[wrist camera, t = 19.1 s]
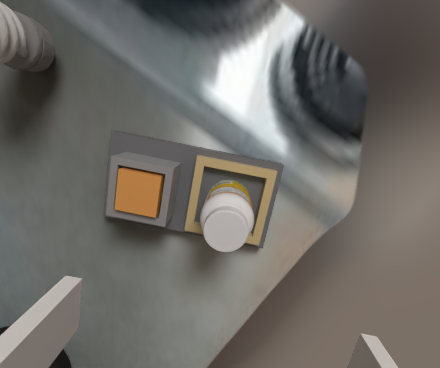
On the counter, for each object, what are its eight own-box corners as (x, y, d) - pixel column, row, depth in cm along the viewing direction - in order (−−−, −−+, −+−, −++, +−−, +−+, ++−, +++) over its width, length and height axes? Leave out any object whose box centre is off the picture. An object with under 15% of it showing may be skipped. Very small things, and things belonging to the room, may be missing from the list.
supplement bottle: (234, 228, 33) (234, 270, 23) (199, 206, 32) (183, 240, 23) (259, 194, 32) (268, 224, 22) (221, 170, 31) (215, 191, 22)
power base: (109, 212, 35) (86, 228, 30) (116, 130, 32) (93, 132, 27) (261, 242, 35) (266, 264, 29) (281, 163, 32) (290, 171, 27)
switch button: (127, 200, 32) (114, 209, 28) (131, 163, 31) (118, 169, 27) (163, 207, 32) (155, 217, 28) (169, 171, 31) (161, 177, 27)
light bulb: (81, 48, 30) (-15, 1, 19) (58, 88, 31) (-46, 68, 20) (39, 16, 30) (-86, -53, 18) (18, 58, 31) (-113, 19, 19)
